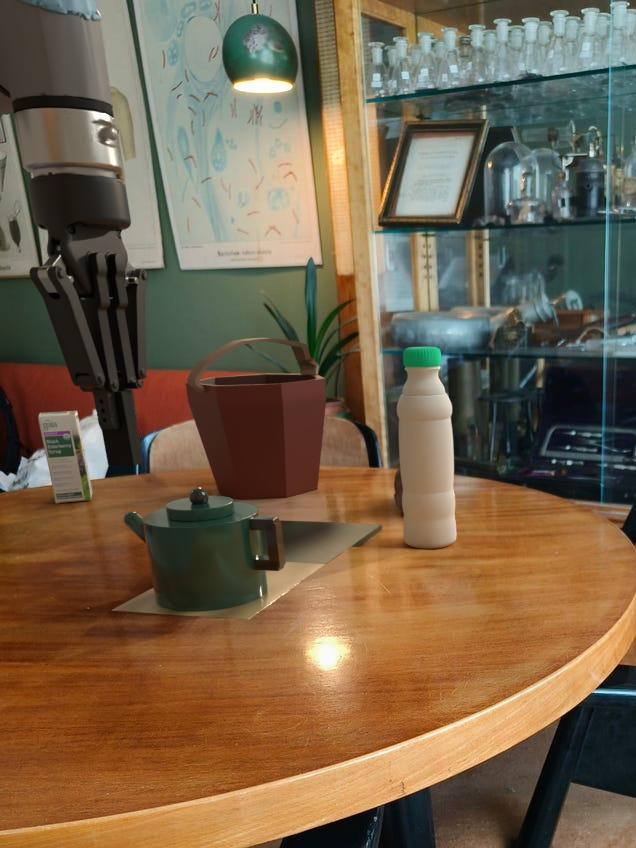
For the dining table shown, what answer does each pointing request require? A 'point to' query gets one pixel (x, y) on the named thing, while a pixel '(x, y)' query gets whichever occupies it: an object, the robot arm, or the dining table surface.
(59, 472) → the syrup box
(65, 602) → the dining table surface
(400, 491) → the perforated stone tool
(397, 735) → the dining table surface
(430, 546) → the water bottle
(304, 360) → the bucket
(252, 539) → the kettle
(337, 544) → the board
